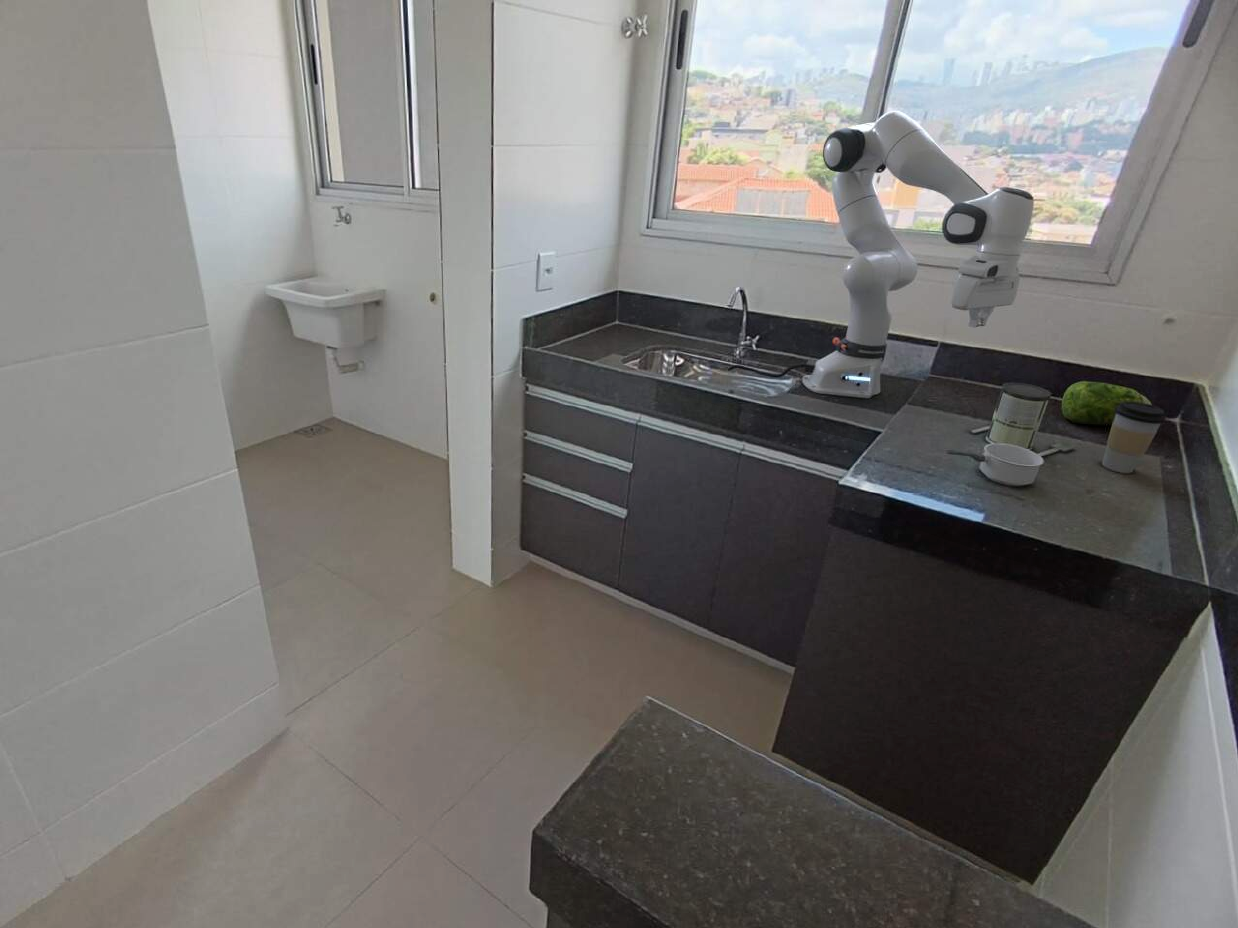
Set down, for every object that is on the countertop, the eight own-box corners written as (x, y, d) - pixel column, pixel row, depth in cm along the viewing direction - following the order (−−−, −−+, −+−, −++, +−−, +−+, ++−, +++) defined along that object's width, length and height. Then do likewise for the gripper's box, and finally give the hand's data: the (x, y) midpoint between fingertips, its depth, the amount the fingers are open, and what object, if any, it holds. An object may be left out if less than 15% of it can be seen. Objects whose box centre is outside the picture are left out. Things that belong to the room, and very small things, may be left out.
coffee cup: (1144, 468, 152) (1171, 408, 146) (1138, 481, 146) (1166, 418, 140) (1097, 455, 158) (1121, 396, 152) (1089, 466, 152) (1113, 406, 145)
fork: (976, 435, 166) (977, 433, 166) (967, 431, 168) (968, 429, 167) (1009, 425, 173) (1010, 424, 173) (1001, 422, 175) (1001, 420, 175)
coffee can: (978, 433, 167) (995, 380, 161) (1020, 437, 166) (1038, 384, 160) (995, 450, 158) (1013, 394, 152) (1039, 453, 157) (1060, 398, 151)
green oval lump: (1153, 436, 172) (1171, 395, 167) (1071, 428, 174) (1087, 388, 169) (1127, 419, 182) (1144, 381, 177) (1050, 413, 184) (1064, 374, 179)
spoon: (1041, 460, 153) (1042, 457, 153) (1028, 455, 156) (1029, 452, 156) (1072, 449, 160) (1073, 447, 160) (1059, 444, 163) (1060, 442, 163)
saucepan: (930, 462, 149) (936, 439, 147) (1017, 467, 149) (1025, 444, 147) (951, 485, 139) (959, 461, 136) (1046, 490, 139) (1055, 467, 136)
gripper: (1006, 262, 156) (989, 319, 162) (955, 265, 146) (938, 326, 152) (1033, 266, 152) (1014, 325, 158) (981, 270, 142) (963, 333, 148)
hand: (976, 326), depth 155 cm, fingers closed
